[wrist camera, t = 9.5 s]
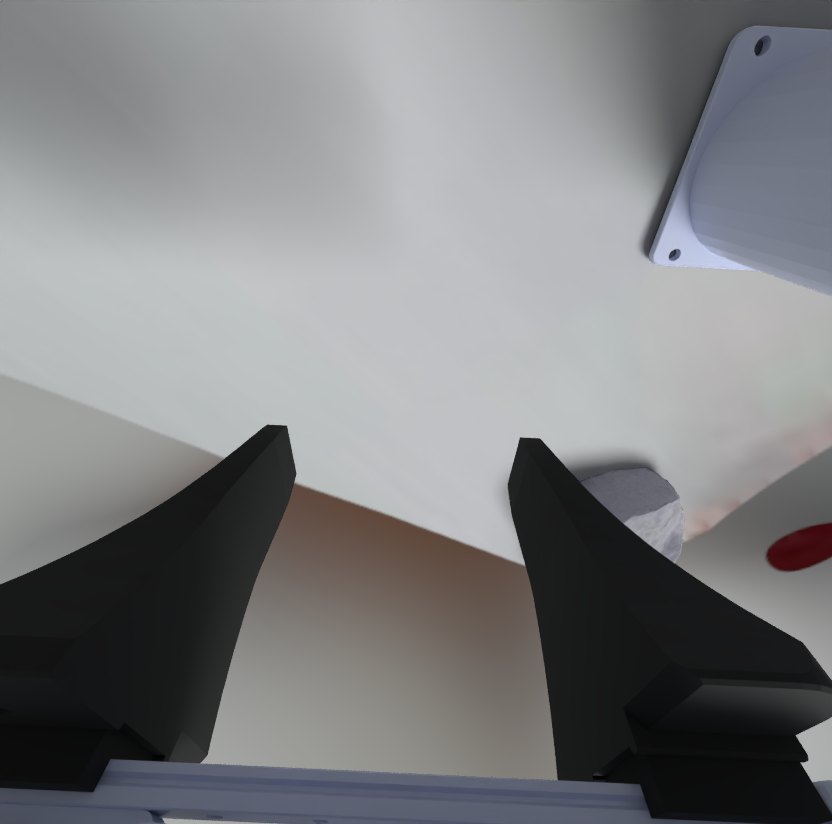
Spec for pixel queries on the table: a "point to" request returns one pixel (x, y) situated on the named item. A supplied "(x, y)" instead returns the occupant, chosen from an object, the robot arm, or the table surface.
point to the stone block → (642, 506)
